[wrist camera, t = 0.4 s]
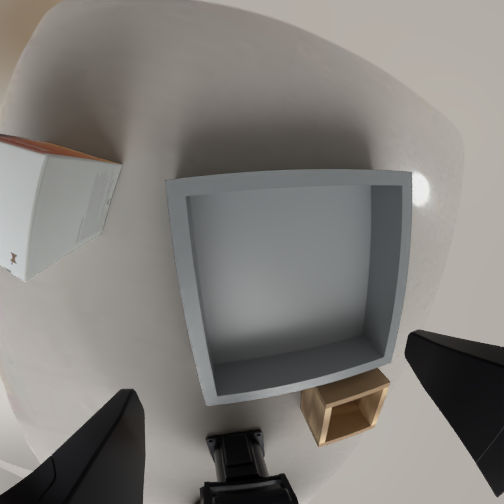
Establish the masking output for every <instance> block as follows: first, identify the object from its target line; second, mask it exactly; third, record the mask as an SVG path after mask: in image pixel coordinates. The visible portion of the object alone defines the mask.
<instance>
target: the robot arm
mask: <svg viewBox="0 0 504 504" xmlns="http://www.w3.org/2000/svg"><path fill="white" fill-rule="evenodd" d="M405 358H406V359H407V361H408V363H409V364H410V366H411V367H412V369H413V371H414V373H415V374H416V376H417V378H418V379H419V381H420V382H421V384H422V386H423V387H424V389H425V390H426V392H427V393H428V395H429V396H430V397H431V399H432V400H433V401H434V403H435V404H436V405H437V407H438V408H439V410H440V411H441V412H442V414H443V415H444V416H445V418H446V419H447V420H448V422H449V424H450V425H451V427H452V428H453V429H454V431H455V432H456V434H457V435H458V437H459V438H460V440H461V441H462V443H463V444H464V446H465V447H466V449H467V450H468V452H469V453H470V455H471V456H472V458H473V459H474V461H475V462H476V464H477V466H478V467H479V469H480V471H481V472H482V474H483V476H484V477H485V479H486V481H487V482H488V484H489V486H490V487H491V489H492V490H493V492H494V494H495V496H496V497H499V496H500V495H501V494H502V493H504V347H500V346H496V345H490V344H485V343H480V342H475V341H470V340H465V339H460V338H455V337H451V336H446V335H441V334H437V333H433V332H428V331H424V330H416V331H413V332H411V333H410V334H409V335H408V339H407V343H406V348H405ZM206 442H207V445H208V447H209V450H210V453H211V455H212V458H213V460H214V463H215V467H216V474H217V482H204V485H205V486H204V487H201V488H200V496H201V504H298V500H297V497H296V495H295V493H294V491H293V489H292V487H291V485H290V483H289V482H288V480H287V478H286V475H285V474H284V473H282V474H279V475H275V476H269V475H268V471H267V468H266V464H265V461H264V456H265V454H264V442H263V433H262V431H261V430H256V431H250V432H243V433H236V434H229V435H220V436H211V437H207V438H206ZM144 469H145V414H144V409H143V406H142V404H141V402H140V400H139V398H138V395H137V393H136V391H135V390H134V389H121V390H120V391H118V392H117V393H116V394H115V395H114V396H113V397H112V398H111V399H110V400H109V401H108V402H107V403H106V404H105V405H104V406H103V407H102V408H101V409H100V410H99V411H97V412H96V413H95V414H94V415H93V416H92V417H91V418H90V419H89V420H88V421H87V422H86V423H85V424H84V425H83V426H82V427H81V428H80V429H79V430H77V431H76V432H75V433H74V434H73V435H72V436H71V437H70V438H69V439H68V440H67V441H66V442H65V443H64V444H63V445H62V446H61V447H59V448H58V449H57V450H56V451H55V452H54V453H53V454H52V456H50V457H49V458H48V459H47V460H46V461H44V462H43V463H42V464H41V465H40V466H39V467H38V468H37V469H35V470H34V471H33V472H32V473H31V474H29V475H28V476H27V477H25V478H24V479H23V480H21V481H20V482H19V483H17V484H16V485H14V486H13V487H11V488H10V489H9V490H7V491H6V492H4V493H3V494H1V495H0V504H143V485H144Z"/></svg>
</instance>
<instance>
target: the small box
mask: <svg viewBox="0 0 504 504" xmlns="http://www.w3.org/2000/svg"><path fill="white" fill-rule="evenodd" d="M121 168H122V164H119V163H116V162H112V161H109V160H105V159H102V158H98V157H95V156H92V155H88V154H85V153H82V152H79V151H76V150H73V149H69V148H66V147H63V146H59V145H56V144H53V143H49V142H44V141H37V140H32V139H27V138H22V137H16V136H10V135H4V134H0V267H1V268H3V269H5V270H6V271H8V272H9V273H11V274H12V275H13V276H15V277H17V278H18V279H20V280H21V281H23V282H27V281H28V280H29V279H31V278H32V277H34V276H35V275H37V274H38V273H40V272H41V271H43V270H44V269H46V268H47V267H49V266H50V265H52V264H53V263H55V262H57V261H58V260H60V259H61V258H63V257H64V256H66V255H68V254H69V253H71V252H72V251H74V250H76V249H77V248H79V247H81V246H82V245H84V244H86V243H87V242H89V241H91V240H93V239H94V238H96V237H98V236H99V235H101V234H102V230H103V226H104V222H105V218H106V215H107V211H108V208H109V205H110V201H111V198H112V195H113V192H114V188H115V185H116V182H117V179H118V177H119V174H120V171H121Z"/></svg>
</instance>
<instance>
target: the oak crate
mask: <svg viewBox="0 0 504 504" xmlns="http://www.w3.org/2000/svg"><path fill="white" fill-rule="evenodd" d="M389 385H390V381H389V380H388V379H387V378H386V376H385V375H384V374H383V373H382V372H381V371H380V370H379V369H378V368H375V369H372V370H369V371H366V372H363V373H360V374H357V375H354V376H351V377H348V378H345V379H341V380H338V381H335V382H331V383H327V384H324V385H320V386H316V387H313V388H309V389H304V390H302V392H301V408H300V409H301V411H302V413H303V415H304V417H305V419H306V422H307V424H308V426H309V428H310V430H311V432H312V434H313V437H314V439H315V441H316V443H317V445H318V447H321V446H324V445H328V444H331V443H334V442H337V441H340V440H343V439H345V438H348V437H351V436H354V435H356V434H359V433H361V432H364V431H366V430H369V429H371V428H374V427H375V424H376V422H377V419H378V417H379V414H380V411H381V409H382V406H383V403H384V400H385V397H386V394H387V391H388V388H389Z"/></svg>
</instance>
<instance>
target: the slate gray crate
mask: <svg viewBox="0 0 504 504" xmlns="http://www.w3.org/2000/svg"><path fill="white" fill-rule="evenodd" d="M165 181H166V192H167V202H168V211H169V219H170V228H171V235H172V243H173V250H174V257H175V263H176V270H177V276H178V282H179V288H180V293H181V299H182V304H183V309H184V315H185V320H186V325H187V329H188V334H189V339H190V343H191V348H192V352H193V357H194V361H195V365H196V369H197V373H198V377H199V381H200V385H201V389H202V393H203V397H204V400H205V404H206V406H214V405H222V404H230V403H237V402H244V401H250V400H256V399H262V398H267V397H273V396H278V395H282V394H287V393H292V392H296V391H300V390H304V389H309V388H313V387H316V386H320V385H324V384H327V383H331V382H335V381H338V380H341V379H345V378H348V377H351V376H354V375H357V374H360V373H363V372H366V371H369V370H372V369H375V368H378V367H380V366H383V365H386V364H388V363H391V360H392V356H393V352H394V347H395V343H396V339H397V334H398V329H399V324H400V319H401V314H402V308H403V302H404V296H405V289H406V281H407V273H408V264H409V254H410V242H411V224H412V172H407V171H390V170H365V169H298V170H272V171H254V172H239V173H227V174H216V175H205V176H196V177H187V178H179V179H171V180H165Z"/></svg>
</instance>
